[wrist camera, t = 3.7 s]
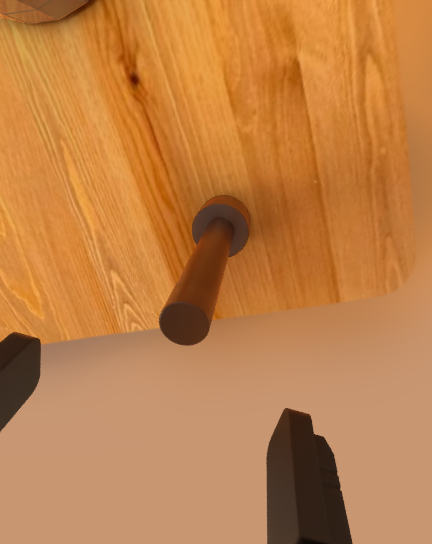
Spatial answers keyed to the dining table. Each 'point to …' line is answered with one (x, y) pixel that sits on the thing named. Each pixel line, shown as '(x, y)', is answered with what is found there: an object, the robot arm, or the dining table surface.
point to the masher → (205, 269)
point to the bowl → (38, 9)
